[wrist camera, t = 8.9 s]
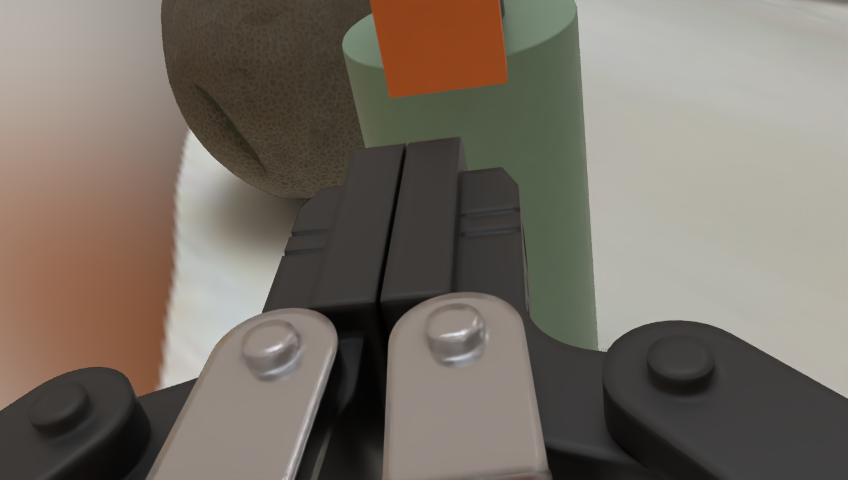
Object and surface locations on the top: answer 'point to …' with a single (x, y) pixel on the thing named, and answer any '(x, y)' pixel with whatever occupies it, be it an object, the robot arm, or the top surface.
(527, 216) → the spray bottle
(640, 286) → the top surface
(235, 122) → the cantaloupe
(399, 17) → the trigger
